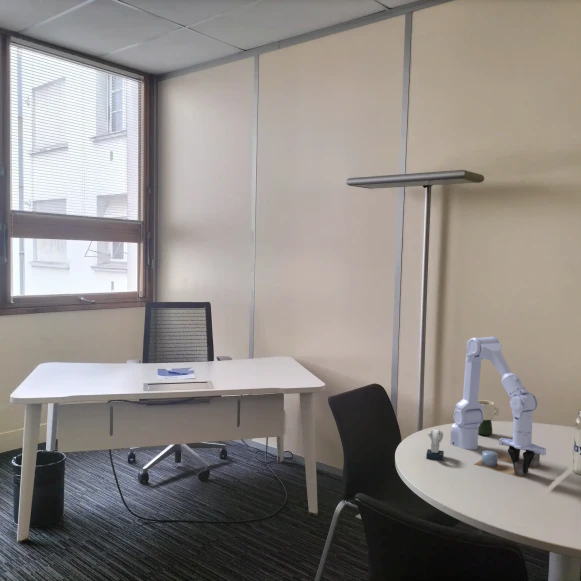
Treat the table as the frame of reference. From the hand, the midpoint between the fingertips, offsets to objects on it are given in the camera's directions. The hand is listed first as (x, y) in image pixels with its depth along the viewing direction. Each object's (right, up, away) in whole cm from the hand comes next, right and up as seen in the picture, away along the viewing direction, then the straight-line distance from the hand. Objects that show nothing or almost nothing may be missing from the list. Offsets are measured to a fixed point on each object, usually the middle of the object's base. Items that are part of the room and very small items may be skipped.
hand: (521, 471), depth 182 cm
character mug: (+3, +1, +43) cm, 43 cm away
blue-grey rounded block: (-8, 0, +7) cm, 11 cm away
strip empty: (+2, -1, +12) cm, 12 cm away
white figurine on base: (-25, -1, +14) cm, 28 cm away
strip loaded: (-5, -2, +5) cm, 7 cm away
